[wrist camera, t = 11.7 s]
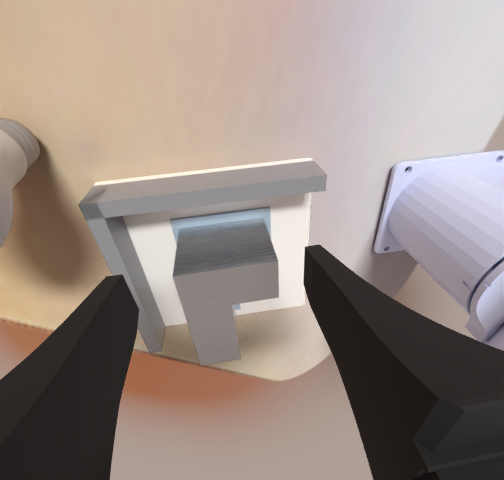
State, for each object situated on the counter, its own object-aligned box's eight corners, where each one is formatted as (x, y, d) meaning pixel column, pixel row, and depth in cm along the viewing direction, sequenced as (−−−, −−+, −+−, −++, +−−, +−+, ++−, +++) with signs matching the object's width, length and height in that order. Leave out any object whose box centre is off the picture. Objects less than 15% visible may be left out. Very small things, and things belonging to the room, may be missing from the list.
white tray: (310, 157, 19) (326, 174, 16) (302, 300, 27) (312, 326, 24) (96, 182, 18) (78, 204, 15) (155, 322, 26) (149, 352, 23)
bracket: (267, 302, 25) (279, 352, 21) (201, 313, 25) (200, 365, 21) (263, 217, 20) (278, 261, 16) (179, 228, 20) (172, 276, 15)
